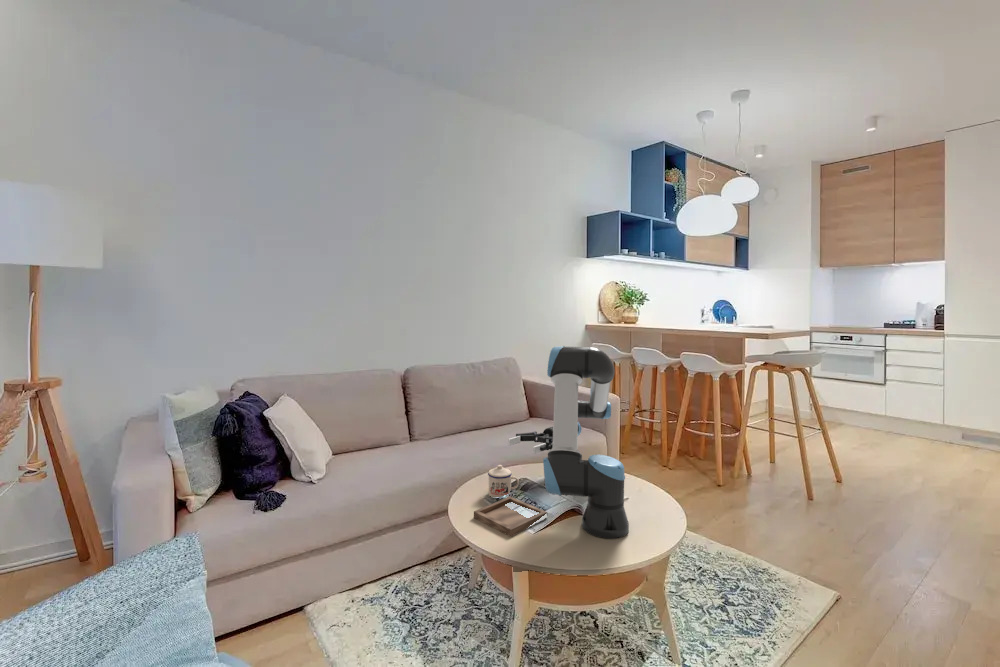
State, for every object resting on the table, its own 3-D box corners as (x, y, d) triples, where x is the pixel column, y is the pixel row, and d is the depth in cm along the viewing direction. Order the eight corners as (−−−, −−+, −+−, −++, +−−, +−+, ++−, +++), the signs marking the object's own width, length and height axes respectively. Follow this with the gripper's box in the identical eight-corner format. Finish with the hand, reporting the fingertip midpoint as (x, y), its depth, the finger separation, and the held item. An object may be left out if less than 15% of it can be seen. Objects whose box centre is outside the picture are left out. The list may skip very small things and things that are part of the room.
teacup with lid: (487, 499, 177) (487, 469, 176) (488, 489, 186) (488, 461, 185) (519, 500, 177) (519, 470, 176) (518, 490, 186) (518, 461, 185)
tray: (547, 518, 162) (547, 512, 162) (510, 536, 149) (511, 529, 149) (510, 502, 175) (510, 496, 175) (473, 517, 162) (473, 511, 162)
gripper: (578, 450, 194) (544, 463, 179) (532, 437, 212) (499, 448, 197) (578, 432, 193) (545, 444, 179) (533, 421, 211) (499, 430, 196)
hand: (521, 446), depth 188 cm, fingers open, 13 cm apart
